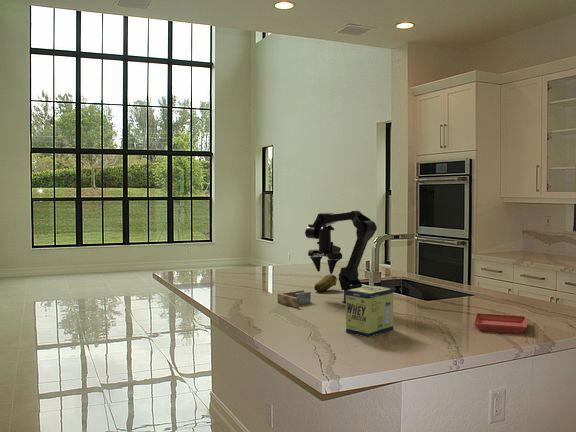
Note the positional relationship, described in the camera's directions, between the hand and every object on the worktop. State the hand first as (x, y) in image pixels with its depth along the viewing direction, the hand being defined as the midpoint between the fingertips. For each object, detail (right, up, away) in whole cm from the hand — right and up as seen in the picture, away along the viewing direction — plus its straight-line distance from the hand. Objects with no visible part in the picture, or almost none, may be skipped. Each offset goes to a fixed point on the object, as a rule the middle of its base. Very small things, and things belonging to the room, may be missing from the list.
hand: (324, 272), depth 272 cm
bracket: (-12, -13, -10) cm, 20 cm away
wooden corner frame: (-12, -13, -10) cm, 20 cm away
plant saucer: (+62, -15, -57) cm, 85 cm away
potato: (+1, -11, +19) cm, 22 cm away
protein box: (+12, -16, -61) cm, 64 cm away
